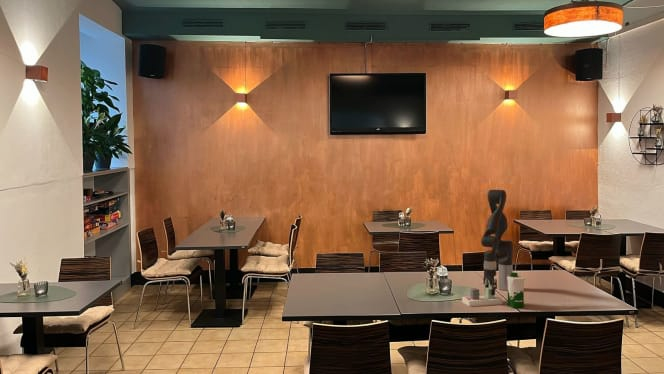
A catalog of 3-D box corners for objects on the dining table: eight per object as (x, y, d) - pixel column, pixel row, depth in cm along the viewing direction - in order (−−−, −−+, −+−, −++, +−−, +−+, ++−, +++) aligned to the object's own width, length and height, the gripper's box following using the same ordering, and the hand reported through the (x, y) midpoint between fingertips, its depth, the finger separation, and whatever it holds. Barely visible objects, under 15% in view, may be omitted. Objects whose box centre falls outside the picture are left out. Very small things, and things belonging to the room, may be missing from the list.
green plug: (491, 301, 353) (491, 287, 353) (494, 303, 349) (494, 288, 349) (485, 301, 353) (485, 287, 352) (488, 303, 349) (488, 289, 348)
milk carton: (518, 304, 346) (518, 271, 345) (526, 308, 337) (526, 275, 336) (505, 305, 344) (505, 272, 343) (513, 309, 336) (513, 275, 334)
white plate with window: (495, 299, 357) (495, 285, 357) (503, 304, 346) (503, 289, 346) (462, 301, 354) (462, 287, 353) (469, 306, 343) (469, 291, 342)
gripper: (500, 269, 343) (500, 296, 344) (490, 265, 357) (490, 290, 358) (489, 270, 342) (489, 296, 343) (479, 265, 356) (479, 291, 357)
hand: (490, 293), depth 351 cm, fingers open, 8 cm apart
